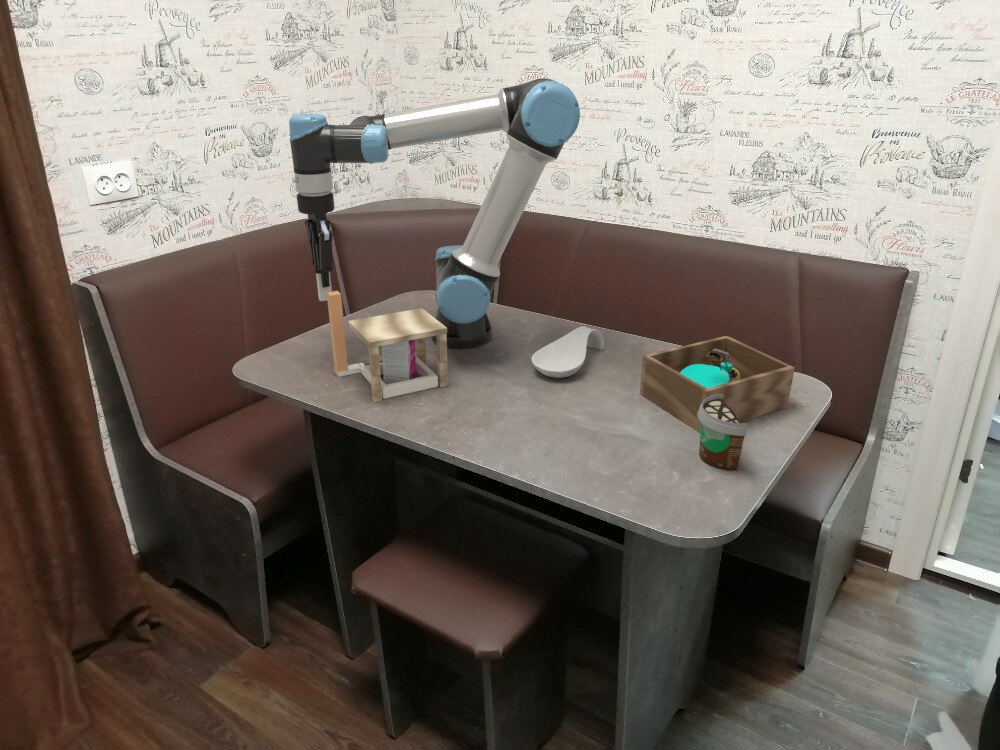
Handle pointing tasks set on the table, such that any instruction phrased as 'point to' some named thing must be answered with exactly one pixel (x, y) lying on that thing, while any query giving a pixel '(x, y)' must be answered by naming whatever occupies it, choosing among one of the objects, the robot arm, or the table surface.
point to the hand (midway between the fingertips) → (325, 299)
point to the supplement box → (399, 362)
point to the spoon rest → (567, 352)
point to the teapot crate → (747, 397)
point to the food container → (720, 434)
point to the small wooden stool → (401, 340)
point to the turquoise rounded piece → (712, 371)
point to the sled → (343, 369)
